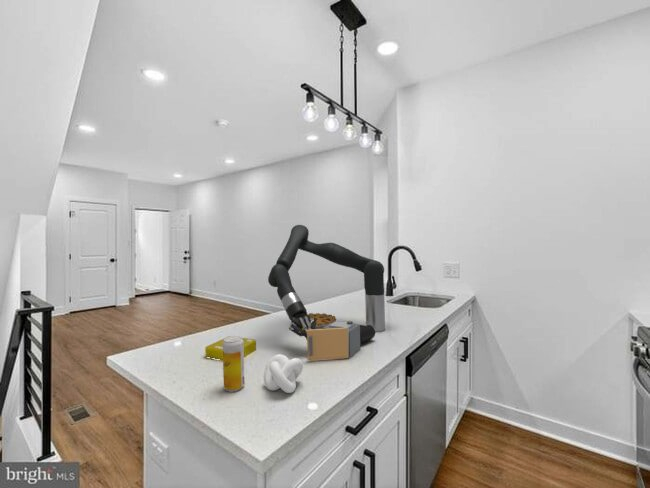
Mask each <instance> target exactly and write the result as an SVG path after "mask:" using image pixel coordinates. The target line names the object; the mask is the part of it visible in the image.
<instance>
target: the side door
mask: <svg viewBox="0 0 650 488" xmlns="http://www.w3.org/2000/svg"><path fill="white" fill-rule="evenodd" d="M306 341H307V342H306V345H307V346H306V349H307V350H306V351H307V361H322V360H338V359H350V358H349V328H330V329H312V330H307V339H306Z"/></svg>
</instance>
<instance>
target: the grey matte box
mask: <svg viewBox="0 0 650 488" xmlns="http://www.w3.org/2000/svg"><path fill="white" fill-rule="evenodd" d="M360 325H361V324H357V323H355V322H353V321H352V320H348V321H340V320H336V322H335V321H334V322H332V323H330V324H329V325H327V326H325V327H323V329H330V328H349V358H348V359H351V358H352V357H354V356H355V355H356V354H357V353H358V352H359V351H360V350H361V344H360Z"/></svg>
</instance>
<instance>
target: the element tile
mask: <svg viewBox="0 0 650 488" xmlns="http://www.w3.org/2000/svg"><path fill="white" fill-rule="evenodd" d="M227 337H232V336H226V337H224V338H222V339H220V340H218V341H216V342H213V343H210V344H209V345H207V346H205V348H204V349H205V354H204V355H205V358H206V357H210V358H215V359H220V360H223V341H224V339H225V338H227ZM242 340H243V345H244V358H245V357H247V356H249V355H250V354H252V353H254V352H256V351H257V340H256V339H253V338H247V337H242ZM220 360H219V361H220Z"/></svg>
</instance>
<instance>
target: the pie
mask: <svg viewBox="0 0 650 488" xmlns="http://www.w3.org/2000/svg"><path fill="white" fill-rule="evenodd" d="M307 314H308V313H307ZM308 315H309V316H310V318H312V319H314V318H316V328H315V329H323V327H325V326H327V325H329V324H330V323H332V322H334V321H335V322H336V321H337V318H336V315H332V314H327V313H324V312H323V313H319V312H318V313H313V312H311V313H309V314H308ZM310 325H311V324H310Z"/></svg>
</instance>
